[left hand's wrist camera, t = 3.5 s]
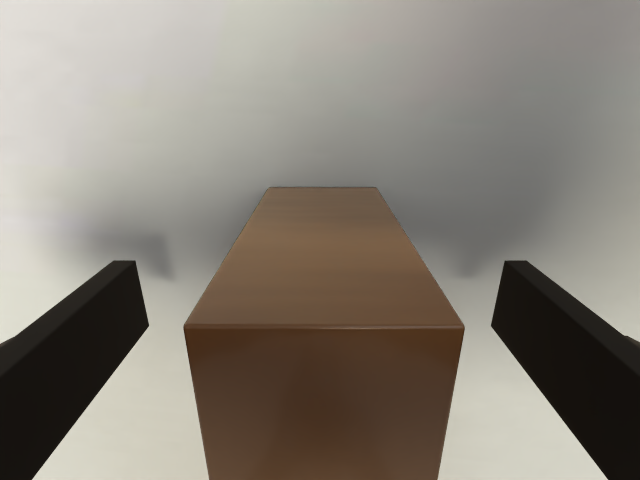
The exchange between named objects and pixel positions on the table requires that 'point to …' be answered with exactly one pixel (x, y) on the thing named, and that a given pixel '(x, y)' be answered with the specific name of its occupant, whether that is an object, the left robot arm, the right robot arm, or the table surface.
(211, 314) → the bar
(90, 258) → the table surface
